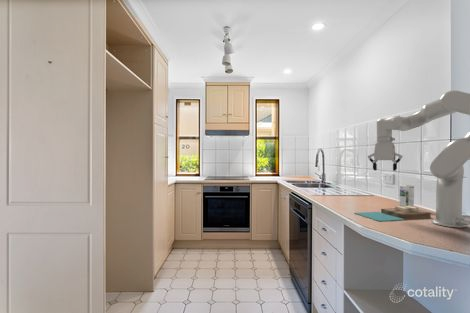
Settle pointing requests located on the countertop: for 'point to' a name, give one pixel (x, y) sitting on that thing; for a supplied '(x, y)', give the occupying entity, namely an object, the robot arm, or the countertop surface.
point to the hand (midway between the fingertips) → (384, 170)
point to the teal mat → (379, 216)
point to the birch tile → (406, 208)
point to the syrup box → (406, 195)
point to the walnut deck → (406, 214)
